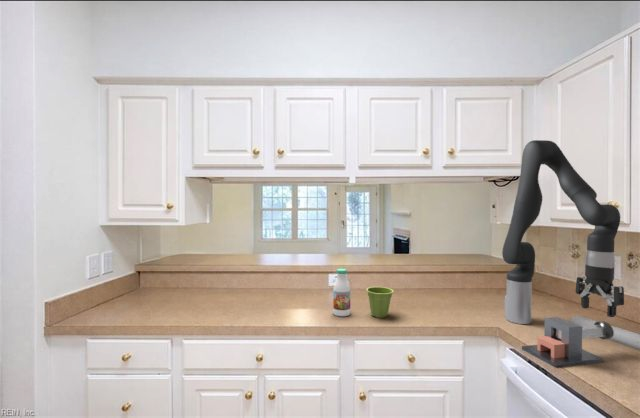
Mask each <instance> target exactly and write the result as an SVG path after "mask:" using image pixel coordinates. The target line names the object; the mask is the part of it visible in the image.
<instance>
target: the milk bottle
mask: <svg viewBox="0 0 640 418" xmlns="http://www.w3.org/2000/svg"><path fill="white" fill-rule="evenodd" d="M347 275H348V270H347V268H337V269H336V279H335V282H334V284H333V288H332V289H333V291H332V313H333V315H334V316H336V317H347V316H350V314H351V285H350V284H349V281H348V277H347Z"/></svg>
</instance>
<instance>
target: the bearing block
mask: <svg viewBox="0 0 640 418" xmlns="http://www.w3.org/2000/svg"><path fill="white" fill-rule="evenodd" d="M556 329H558V330H561V331H562V334H561V339H559V338H557V337H556ZM545 336H548V337H551V338H553V339H555V340H557V341H559V342H562V343H564V344H565V357H562V358H553V357H551V350H548V351H539V350H537V344H533V345H532V344H531V345H523V346H521V349H522V351H524V352H526V353H529V354H530V355H532V356H534V357H535V358H537V359H539V360H541V361H543V362H545V363H547V364H548V365H550V366H552V367H554V368H561V367H569V366H571V367H572V366H579V365H580V366H581V365H588V364H595V363H597V364H598V363H604V361H605V360H604V358H603V357H601V356H598V355H597V354H594V353H592V352H590V351H587V350H585V349H583V339H582V326H580V325H577V324H575V323H572V322H571V321H569V320H567V319H565V318H561V317H559V316H552V317H551V316H550V317H544V336H543V337H545Z"/></svg>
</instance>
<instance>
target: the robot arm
mask: <svg viewBox="0 0 640 418" xmlns="http://www.w3.org/2000/svg"><path fill="white" fill-rule="evenodd" d="M541 165H545V166H547V167H548V168H550V169H551V170H552V171H553V173H555V175H556V177H557V180H558V183H559V186H560V188H561V190H562V191H563V193H565V195H566V196H567V197H568V198H569V199H570V200H571V202H573V203H574V205H575V208H576V209H577V211H578V213H579V215H580V216H581V218H582V219H583V220H584V221H585V222H586V223H587V224H589V225H591V226H594V230H593V231H592V232H591V233H589V234H588V235H587V240H586V241H587V242H586V252H585V261H584V265H585V266H584V267H585V269H584V276H578V277H576V283H575V294H576V295H579V296H580V306H581V307H582V309H589V308H590V296H591V295H592V294H593V295H597V296H599V297H602V298H603V299H604V300H605V301H606V303H607V304H608V305H607V307H606V308H607V309H606V312H607V313H606V316H607V317H609V318H614V317H615V316H617V307H619V306H625V288H624V287H623V286H622V285H621V286H620V285H619V286H618V285H614V283H613V281H614V279H615V266H616V265H615V262H616V261H615V260H616V258H615V238H616V235H617V233H618V231H619V227H620V224H621V223H620V222H621V212H620V210H619V209H618V207H616V206H614V205H613V204H601V203H599V201H598V200H597V197H598V195H597V191H596V190H595V189H594V188H593V187H592V186H590V184H589V183H588V182H587V181H585V179H583V177H582V176H581V175H580V174H579V173H578V172H577V170H576V169H575V167H573V165H572V164H571V163H570V161H569V159H567V157H566V156H565V154H564V153H563V151H562V150H561V148H560V147H559V145H558V144H556V142H554V141H552V140H543V139H542V140H537V139H536V140H531V141H529V142H527V143H526V145H525V146H524V148H523V151H522V156H521V163H520V174H519V176H520V177H519V180H518V186H517V191H516V196H515V200H514V204H513V208H512V209H513V211H512V216H511V220H510V224H509V228H508V231H507V233H506V238H505V239H504V242H503V243H504V244H503V247H502V251H501V252H502V253H501V255H502V259H503V260H504V262H505V263H506V264H509V265H515V267H514V268H513V269H511V270H509V271H507V272H506V295H504V318H505V319H506V320H507V321H508V322H511V323H514V324H519V325H530V324H532V308H533V307H532V305H533V304H532V301H533V300H532V299H533V298H532V296H533V295H532V294H533V293H532V292H533V290H532V289H533V283H532V282H533V276H534V274H535V264H536V250H535V248H534V246H533V244H531V243H530V242H528V241H522V240H523V238H524V235H525V234H526V232H527V230H528V229H530V227H531V226H532V225H533V224H534V222H535V221H536V220H537V219H538V217H539V215H540V212H541V208H542V205H543V193H542V189H541V185H540V183H539V174H540V169H541Z"/></svg>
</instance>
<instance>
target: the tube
mask: <svg viewBox="0 0 640 418" xmlns="http://www.w3.org/2000/svg"><path fill="white" fill-rule="evenodd" d="M570 322H572V323H575V324H577V325H580V326H584V325H594V324H595V323H596V322H599V321H598V320H594V319H591V318H587V317H584V316H582V315H581V316H580V315H576V316H572V317H571V320H570ZM611 327H612V328H613V331H614V335H613V337H612V338H610V339H608V340H610V341H612V342H615V343H618V344H621V345H625V346H628V347H630V348H632V349H633V348H634V349H636V350H639V349H640V333H638V332H633V331H631V330H627V329H624V328H620V327H617V326H614V325H611Z"/></svg>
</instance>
